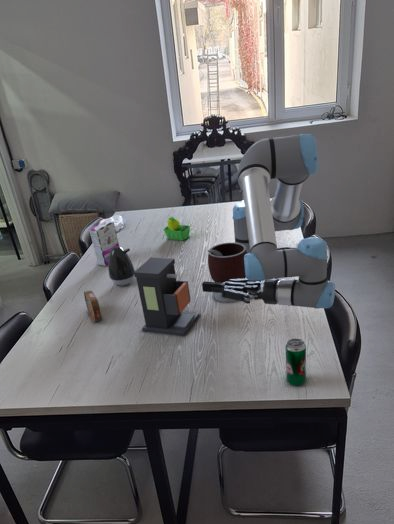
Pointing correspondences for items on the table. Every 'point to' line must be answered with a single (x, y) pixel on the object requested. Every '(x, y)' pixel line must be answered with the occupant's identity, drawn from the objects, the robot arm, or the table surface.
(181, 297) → the push plate
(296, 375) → the soda can
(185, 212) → the table surface
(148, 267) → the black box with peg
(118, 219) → the knuckle duster
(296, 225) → the robot arm
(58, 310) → the table surface
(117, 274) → the pump dispenser
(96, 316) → the tin
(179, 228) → the fruit basket
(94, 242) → the candy bar box
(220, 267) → the mate gourd
